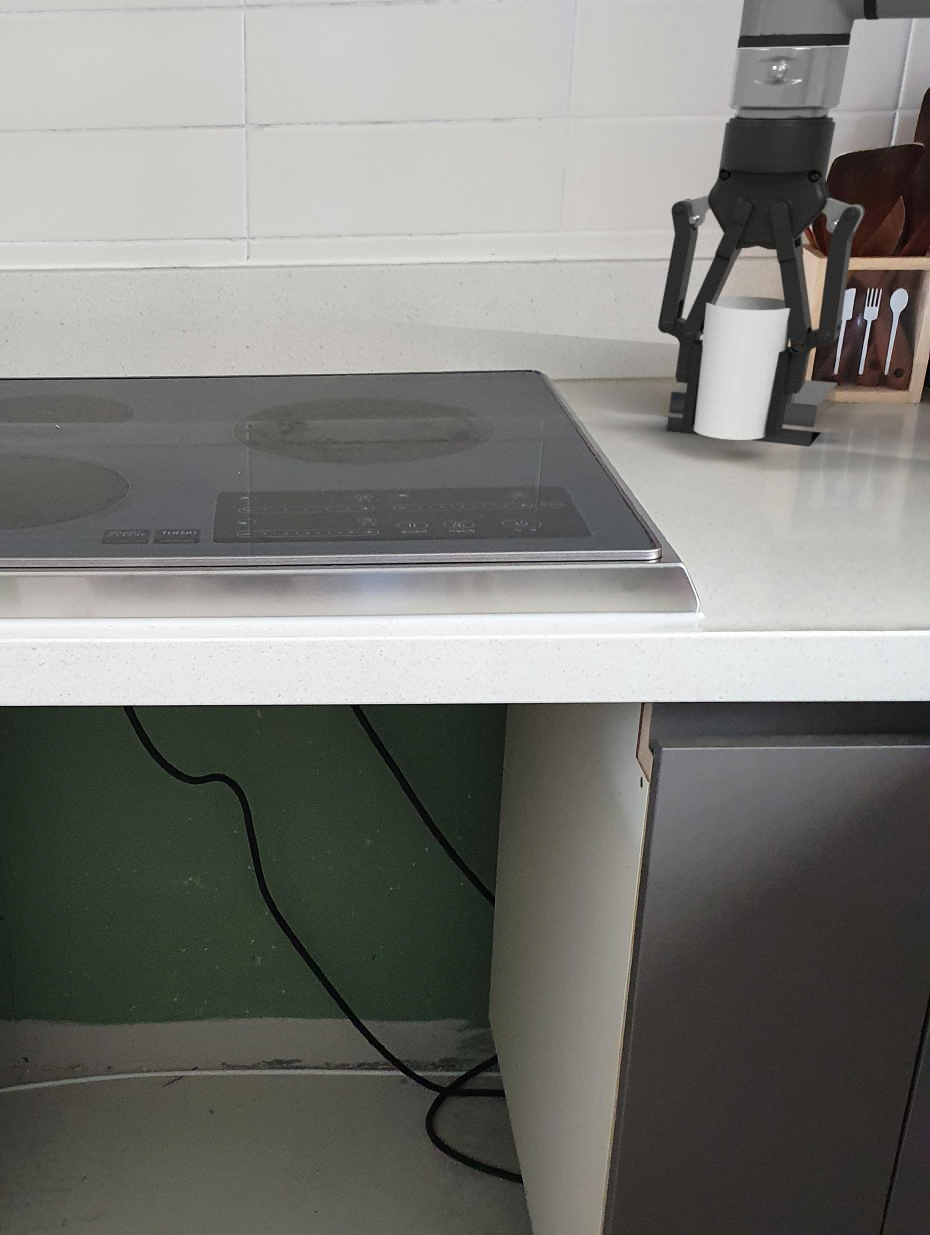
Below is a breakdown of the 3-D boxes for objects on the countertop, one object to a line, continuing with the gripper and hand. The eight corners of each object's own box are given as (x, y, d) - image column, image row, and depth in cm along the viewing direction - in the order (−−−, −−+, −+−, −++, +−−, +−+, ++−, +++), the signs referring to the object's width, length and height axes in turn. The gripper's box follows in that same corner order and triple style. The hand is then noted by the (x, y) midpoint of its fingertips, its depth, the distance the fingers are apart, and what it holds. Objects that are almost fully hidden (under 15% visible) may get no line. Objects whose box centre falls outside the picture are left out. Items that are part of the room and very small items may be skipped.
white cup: (782, 442, 105) (806, 310, 101) (694, 440, 106) (713, 310, 102) (765, 422, 111) (787, 296, 107) (681, 420, 112) (699, 296, 108)
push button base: (830, 421, 121) (842, 359, 119) (809, 447, 113) (821, 381, 111) (694, 408, 127) (702, 348, 124) (666, 431, 119) (674, 368, 117)
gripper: (638, 115, 100) (602, 425, 110) (916, 116, 91) (848, 453, 101) (665, 111, 106) (628, 406, 116) (929, 111, 97) (864, 431, 107)
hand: (731, 427), depth 109 cm, fingers closed on white cup, 6 cm apart
